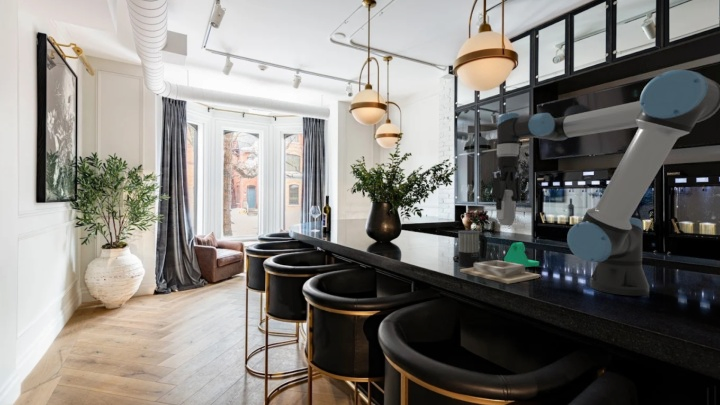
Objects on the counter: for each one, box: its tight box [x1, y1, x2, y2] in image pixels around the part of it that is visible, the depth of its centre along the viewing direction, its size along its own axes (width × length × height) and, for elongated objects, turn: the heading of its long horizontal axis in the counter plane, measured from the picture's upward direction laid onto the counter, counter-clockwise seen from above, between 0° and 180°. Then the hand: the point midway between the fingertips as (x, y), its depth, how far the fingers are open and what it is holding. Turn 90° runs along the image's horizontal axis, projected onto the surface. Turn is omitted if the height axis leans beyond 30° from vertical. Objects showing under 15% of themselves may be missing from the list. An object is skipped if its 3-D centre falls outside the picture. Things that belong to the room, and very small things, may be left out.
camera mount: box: [503, 241, 540, 268], centre depth 151 cm, size 12×8×10 cm, turn 23°
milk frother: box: [452, 230, 488, 268], centre depth 157 cm, size 14×16×15 cm
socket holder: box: [459, 259, 541, 285], centre depth 134 cm, size 22×18×4 cm
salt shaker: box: [497, 189, 516, 226], centre depth 132 cm, size 6×6×13 cm
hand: (505, 218), depth 132 cm, fingers closed on salt shaker, 6 cm apart
